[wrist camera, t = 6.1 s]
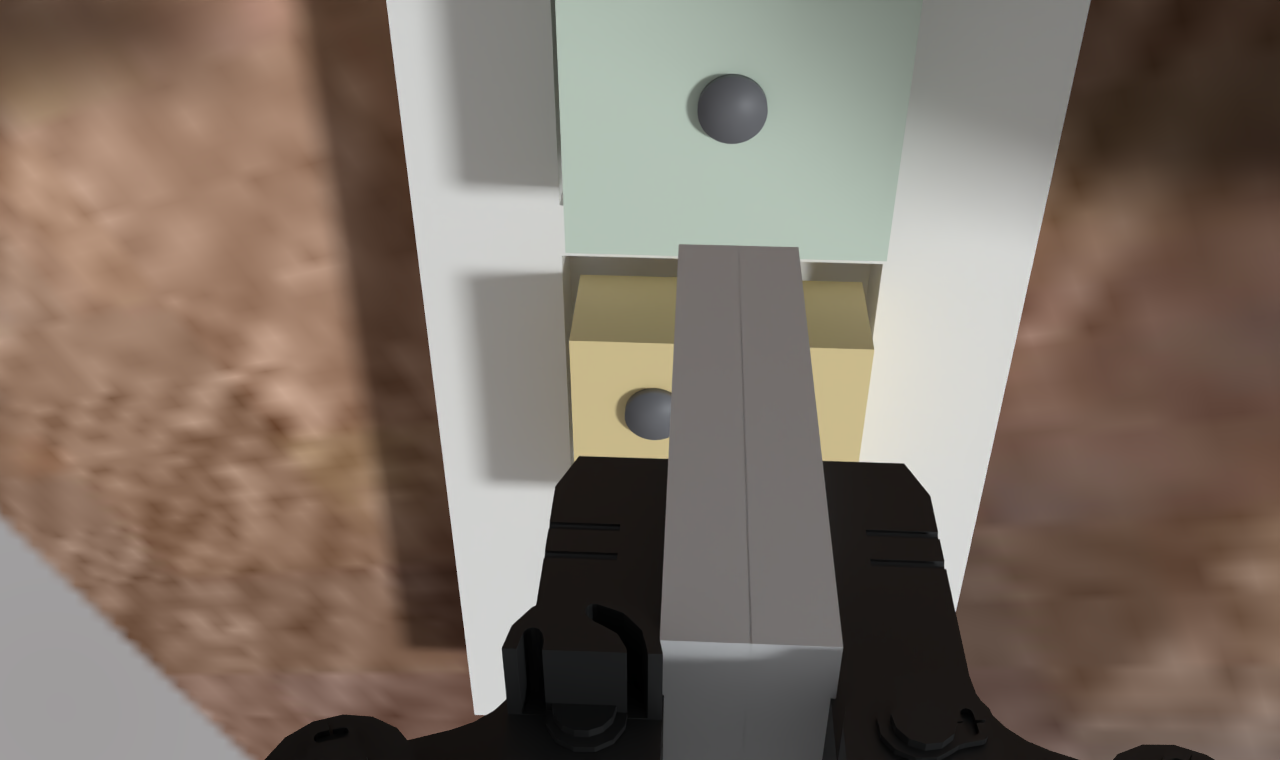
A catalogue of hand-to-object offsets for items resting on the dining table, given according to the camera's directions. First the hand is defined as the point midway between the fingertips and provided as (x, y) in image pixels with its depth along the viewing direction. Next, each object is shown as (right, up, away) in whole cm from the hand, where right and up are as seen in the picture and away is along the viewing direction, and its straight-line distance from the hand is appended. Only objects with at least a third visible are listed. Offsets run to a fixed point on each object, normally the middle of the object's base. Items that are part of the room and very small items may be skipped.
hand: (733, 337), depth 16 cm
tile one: (+1, +6, +7) cm, 9 cm away
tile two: (+1, -1, +12) cm, 12 cm away
